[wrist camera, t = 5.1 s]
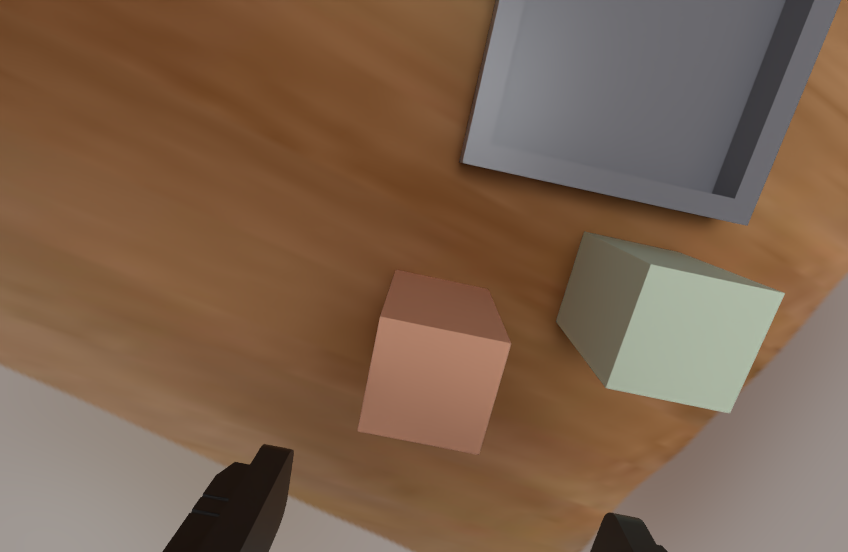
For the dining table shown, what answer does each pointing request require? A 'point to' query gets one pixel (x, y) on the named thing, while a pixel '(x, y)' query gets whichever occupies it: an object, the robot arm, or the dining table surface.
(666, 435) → the dining table surface
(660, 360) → the sage block
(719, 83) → the tray
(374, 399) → the terracotta block
